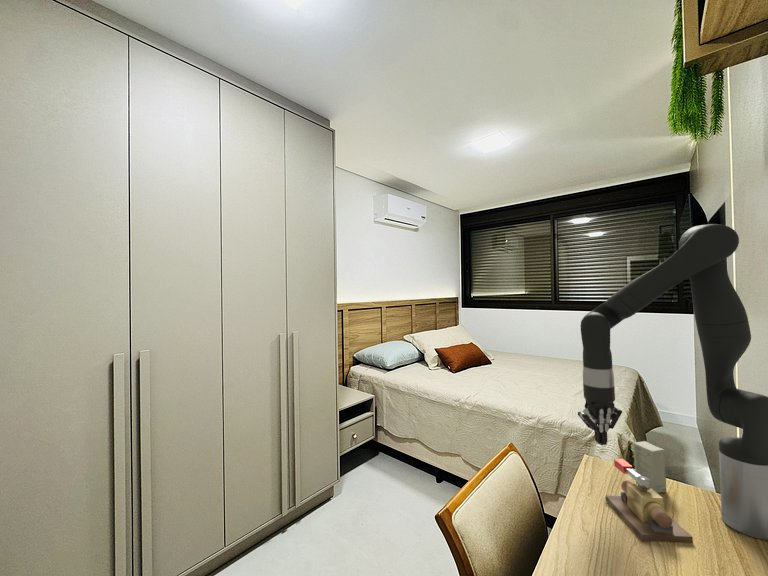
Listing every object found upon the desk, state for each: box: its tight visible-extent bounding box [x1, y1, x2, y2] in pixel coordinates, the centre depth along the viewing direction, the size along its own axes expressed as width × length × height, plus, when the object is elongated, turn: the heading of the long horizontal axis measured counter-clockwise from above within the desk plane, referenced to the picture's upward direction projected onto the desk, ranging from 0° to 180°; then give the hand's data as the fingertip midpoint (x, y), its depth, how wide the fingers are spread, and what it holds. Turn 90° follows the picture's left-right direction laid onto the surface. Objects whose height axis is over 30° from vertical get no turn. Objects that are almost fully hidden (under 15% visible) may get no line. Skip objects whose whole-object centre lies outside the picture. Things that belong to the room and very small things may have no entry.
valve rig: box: [605, 480, 694, 544], centre depth 85 cm, size 15×11×8 cm
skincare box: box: [633, 440, 668, 494], centre depth 99 cm, size 6×4×12 cm
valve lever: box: [613, 458, 651, 490], centre depth 89 cm, size 11×3×2 cm, turn 177°
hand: (601, 443), depth 94 cm, fingers closed
